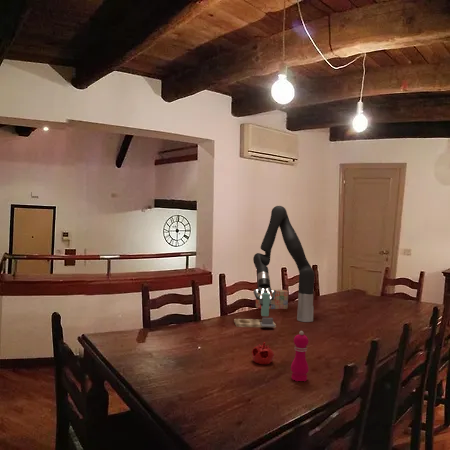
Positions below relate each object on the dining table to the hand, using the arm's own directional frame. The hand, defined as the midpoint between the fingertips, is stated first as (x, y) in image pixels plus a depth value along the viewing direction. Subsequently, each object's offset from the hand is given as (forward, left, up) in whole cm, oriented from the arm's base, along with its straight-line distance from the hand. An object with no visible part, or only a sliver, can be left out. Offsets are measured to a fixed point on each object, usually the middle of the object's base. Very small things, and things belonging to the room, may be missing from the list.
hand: (266, 305), depth 261 cm
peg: (0, -2, -7) cm, 7 cm away
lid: (0, +6, -10) cm, 12 cm away
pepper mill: (-1, +79, -13) cm, 80 cm away
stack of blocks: (-13, -48, -13) cm, 51 cm away
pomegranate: (+11, +60, -13) cm, 62 cm away
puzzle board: (+6, -2, -12) cm, 14 cm away
